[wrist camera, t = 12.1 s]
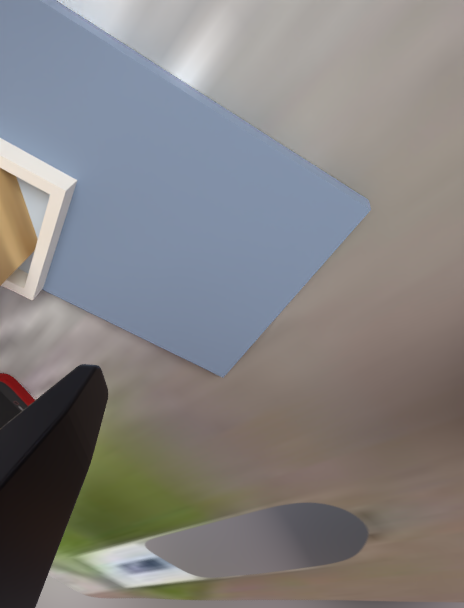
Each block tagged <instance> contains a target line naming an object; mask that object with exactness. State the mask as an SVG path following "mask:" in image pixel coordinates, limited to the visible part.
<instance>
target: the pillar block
mask: <svg viewBox="0 0 464 608" xmlns="http://www.w3.org/2000/svg"><path fill="white" fill-rule="evenodd" d="M37 240H38V238H37V236H36V233H35V230H34V227H33V224H32V221H31V218H30V215H29V212H28V209H27V206H26V203H25V200H24V198H23V195H22V192H21V189H20V186H19V183H18V180H17V177H16V176H15V175H13V174H11V173H9V172H7V171H5V170H4V169H2V168H0V286H1V285H2V284H3V283H4V282H5V281H6V280H7V279H8V278H9V277H10V276H11V274H12V273H13V272H14V271H15V270H16V269H17V268H18V267H19V266H20V265H21V264H22V263H23V262H24V261H25V260H26V259H27V258H28V257H29V256H30V255H31V254H32V253H33V252H34V251H35V248H36V244H37Z"/></svg>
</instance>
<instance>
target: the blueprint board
mask: <svg viewBox="0 0 464 608" xmlns="http://www.w3.org/2000/svg"><path fill="white" fill-rule="evenodd" d="M0 168H2V169H4V170H5V171H7V172H9V173H11V174H13V175H15V176H16V177H17V180H18V183H19V186H20V189H21V192H22V195H23V198H24V200H25V203H26V206H27V209H28V212H29V215H30V218H31V221H32V224H33V227H34V230H35V233H36V236H37V238H38V240H37V244H36V248H35V251H34V252H33V253H32V254H31V255H30V256H29V257H28V258H27V259H26V260H25V261H24V262H23V263H22V264H21V265H20V266H19V267H18V268H17V269H16V270H15V271H14V272H13V273H12V274H11V276H10V277H9V278H8V279H7V280H6V281H5V282H4V283H3V284H2V285H1V286H3V287H5V288H7V289H9V290H11V291H13V292H16V293H18V294H20V295H22V296H24V297H26V298H28V299H30V300H32V301H33V300H34V298H35V297H36V296H37V295H38V294H39V292H40V291H41V290H44V291H46V292H48V293H50V294H52V295H54V296H57V297H59V298H61V299H63V300H65V301H67V302H69V303H71V304H73V305H75V306H77V307H79V308H81V309H83V310H85V311H87V312H89V313H91V314H93V315H95V316H98V317H100V318H102V319H104V320H106V321H108V322H110V323H112V324H114V325H116V326H118V327H120V328H122V329H124V330H126V331H128V332H130V333H132V334H134V335H137V336H139V337H141V338H143V339H145V340H147V341H149V342H151V343H153V344H155V345H157V346H159V347H161V348H163V349H165V350H167V351H169V352H171V353H173V354H176V355H178V356H180V357H182V358H184V359H186V360H188V361H190V362H192V363H194V364H196V365H198V366H200V367H202V368H204V369H206V370H208V371H210V372H212V373H214V374H217V375H219V376H221V377H224V376H225V375H226V374H227V373H228V372H229V371H230V369H231V368H232V367H233V366H234V365H235V364H236V363H237V361H238V360H239V359H240V358H241V357H242V356H243V355H244V353H245V352H246V351H247V350H248V349H249V348H250V347H251V345H252V344H253V343H254V342H255V341H256V340H257V339H258V338H259V336H260V335H261V334H262V333H263V332H264V331H265V330H266V328H267V327H268V326H269V325H270V324H271V323H272V322H273V320H274V319H275V318H276V317H277V316H278V315H279V314H280V312H281V311H282V310H283V309H284V308H285V307H286V306H287V305H288V303H289V302H290V301H291V300H292V299H293V298H294V297H295V295H296V294H297V293H298V292H299V291H300V290H301V289H302V287H303V286H304V285H305V284H306V283H307V282H308V281H309V280H310V278H311V277H312V276H313V275H314V274H315V273H316V272H317V270H318V269H319V268H320V267H321V266H322V265H323V264H324V262H325V261H326V260H327V259H328V258H329V257H330V256H331V254H332V253H333V252H334V251H335V250H336V249H337V248H338V247H339V245H340V244H341V243H342V242H343V241H344V240H345V239H346V237H347V236H348V235H349V234H350V233H351V232H352V231H353V229H354V228H355V227H356V226H357V225H358V224H359V223H360V221H361V220H362V219H363V218H364V217H365V216H366V215H367V214H368V212H369V211H370V210H371V208H370V204H369V200H368V199H366V198H365V197H363V196H362V195H360V194H358V193H357V192H355V191H354V190H352V189H351V188H349V187H347V186H346V185H344V184H343V183H341V182H340V181H338V180H337V179H335V178H333V177H332V176H330V175H329V174H327V173H326V172H324V171H322V170H321V169H319V168H318V167H316V166H315V165H313V164H311V163H310V162H308V161H307V160H305V159H304V158H302V157H300V156H299V155H297V154H296V153H294V152H293V151H291V150H289V149H288V148H286V147H285V146H283V145H282V144H280V143H278V142H277V141H275V140H274V139H272V138H271V137H269V136H268V135H266V134H264V133H263V132H261V131H260V130H258V129H257V128H255V127H253V126H252V125H250V124H249V123H247V122H246V121H244V120H242V119H241V118H239V117H238V116H236V115H235V114H233V113H231V112H230V111H228V110H227V109H225V108H224V107H222V106H220V105H219V104H217V103H216V102H214V101H213V100H211V99H209V98H208V97H206V96H205V95H203V94H202V93H200V92H199V91H197V90H195V89H194V88H192V87H191V86H189V85H188V84H186V83H184V82H183V81H181V80H180V79H178V78H177V77H175V76H173V75H172V74H170V73H169V72H167V71H166V70H164V69H162V68H161V67H159V66H158V65H156V64H155V63H153V62H151V61H150V60H148V59H147V58H145V57H144V56H142V55H140V54H139V53H137V52H136V51H134V50H133V49H131V48H130V47H128V46H126V45H125V44H123V43H122V42H120V41H119V40H117V39H115V38H114V37H112V36H111V35H109V34H108V33H106V32H104V31H103V30H101V29H100V28H98V27H97V26H95V25H93V24H92V23H90V22H89V21H87V20H86V19H84V18H82V17H81V16H79V15H78V14H76V13H75V12H73V11H71V10H70V9H68V8H67V7H65V6H64V5H62V4H61V3H59V2H57V1H56V0H0Z"/></svg>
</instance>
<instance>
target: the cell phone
mask: <svg viewBox="0 0 464 608" xmlns="http://www.w3.org/2000/svg"><path fill="white" fill-rule="evenodd" d="M34 401H35V400H34V399H33V398H32V397H31V395H30V394H29V393H28V392H27V391H26V390H25V389H24V388H23V387H22V386H21V385H20V384H19V382H18V381H17V380H15V379H14V378H13V377H12V376H10V375H8V374H4V373H0V428H2V427H3V426H4V425H5V424H7V423H8V422H9V421H10V420H12V419H13V418H14V417H15V416H17V415H18V414H19V413H20V412H22V411H23V410H24V409H25V408H27V407H28V406H29V405H30V404H32V403H33V402H34Z"/></svg>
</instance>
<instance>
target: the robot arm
mask: <svg viewBox="0 0 464 608" xmlns="http://www.w3.org/2000/svg"><path fill="white" fill-rule="evenodd" d="M107 400H108V388H107V385H106V382H105V379H104V376H103V373H102V370H101V368H100V367H99V366H97V365H86V364H82V365H80V366H78V367H76V368H75V369H74V370H73V371H71V372H70V373H69V374H68V375H66V376H65V377H64V378H63V379H61V380H60V381H59V382H58V383H56V384H55V385H54V386H53V387H51V388H50V389H49V390H48V391H46V392H45V393H44V394H43V395H41V396H40V397H39V398H38V399H37V400H35V401H34V402H33V403H32V404H30V405H29V406H28V407H27V408H25V409H24V410H23V411H22V412H20V413H19V414H18V415H17V416H15V417H14V418H13V419H12V420H10V421H9V422H8V423H7V424H5V425H4V426H3V427H2V428H0V608H35V607H36V604H37V602H38V599H39V596H40V594H41V591H42V589H43V586H44V583H45V581H46V578H47V576H48V573H49V570H50V568H51V565H52V563H53V560H54V558H55V555H56V552H57V550H58V547H59V545H60V542H61V539H62V537H63V534H64V532H65V529H66V526H67V524H68V521H69V519H70V516H71V513H72V511H73V508H74V506H75V503H76V500H77V498H78V495H79V493H80V490H81V487H82V485H83V482H84V480H85V477H86V475H87V472H88V469H89V466H90V463H91V460H92V456H93V453H94V449H95V445H96V442H97V438H98V434H99V430H100V426H101V423H102V419H103V415H104V411H105V408H106V404H107Z"/></svg>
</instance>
